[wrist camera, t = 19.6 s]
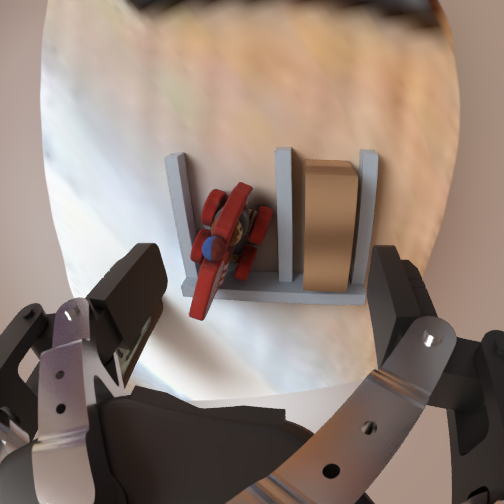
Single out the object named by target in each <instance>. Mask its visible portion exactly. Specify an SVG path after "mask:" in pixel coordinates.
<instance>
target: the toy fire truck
mask: <svg viewBox="0 0 504 504" xmlns="http://www.w3.org/2000/svg"><path fill="white" fill-rule="evenodd" d="M252 190H253V188H252V187H251V186H249V185H247V184H244V183H242V182H239V183H238V184H237V186H236V187H235V188H234V189H233V190H232V192H231V194H230V196H229V198H228V200H227V201H226V197H227V195H226V193H225V192H224V191H221V190H218V189H214V190H212V191H211V193H210V194H209V196H208V198H207V200H206V202H205V205H204V208H203V211H202V215H201V222H202V224H204V225H207V226H210V227H211V230H208V229H205V228H202V229H201V230H200V231H199V233H198V234H197V236H196V238H195V241H194V243H193V246H192V250H191V254H190V259H191V261H193V262H195V263H198V264H201V267H200V270H199V275H198V279H197V283H196V287H195V291H194V295H193V300H192V304H191V308H190V312H189V316H190V317H192V318H195V319H198V320H201V321H202V320H204V319H205V317H206V315H207V313H208V310H209V308H210V305H211V303H212V301H213V299H214V297H215V294H216V293H217V291H218V288H219V287H220V286H221V285H222V283H223V280H224V277H225V274H226V271H227V268H228V265H229V262H230V261H231V262H234V263H238V264H237V267H236V270H235V273H234V277H235V278H237V279H240V280H242V281H246V280H247V278H248V275H249V272H250V270H251V267H252V264H253V261H254V258H255V255H256V252H257V248H256V247H254V246H251V245H247V244H246V245H245V246H244V248H243V251H242V254H241V256H239V255H236V254H233V249H234V246H235V244H236V243H237V242H238V241H239V240H240V238H242V237H243V236H244V235H245V234H246V233H249V239H248V241H250V242H251V243H254V244H256V245H261V244H262V242H263V239H264V237H265V234H266V232H267V229H268V226H269V224H270V221H271V218H272V215H273V212H274V211H273V210H272V209H270V208H268V207H265V206H261V207H260V208H259V210H258V212H257V211H255V210H254V209H253V210H252V209H247V206H248V203H249V200H250V197H251V194H252ZM225 202H226V203H225Z"/></svg>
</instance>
